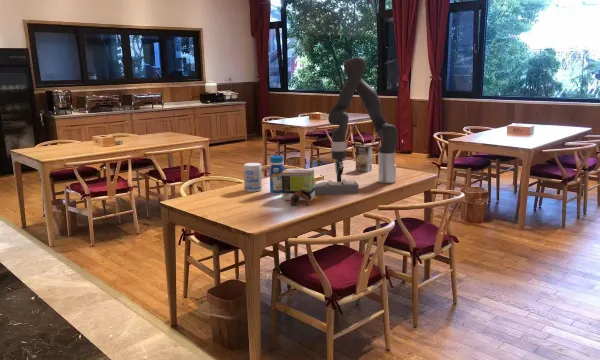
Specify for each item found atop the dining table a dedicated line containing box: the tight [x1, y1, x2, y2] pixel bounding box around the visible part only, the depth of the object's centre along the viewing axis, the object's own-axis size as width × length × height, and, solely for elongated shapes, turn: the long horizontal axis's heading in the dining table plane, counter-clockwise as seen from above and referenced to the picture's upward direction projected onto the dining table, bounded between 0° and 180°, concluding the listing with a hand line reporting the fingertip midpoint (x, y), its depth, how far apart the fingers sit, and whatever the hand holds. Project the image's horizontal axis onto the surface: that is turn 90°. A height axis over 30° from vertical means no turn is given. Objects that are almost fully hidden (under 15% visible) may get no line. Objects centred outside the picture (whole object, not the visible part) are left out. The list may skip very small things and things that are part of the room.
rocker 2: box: [327, 179, 340, 185], centre depth 268 cm, size 6×4×2 cm
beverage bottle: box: [268, 154, 286, 195], centre depth 268 cm, size 8×8×20 cm
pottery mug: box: [290, 190, 312, 206], centre depth 246 cm, size 12×10×8 cm
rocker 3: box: [341, 178, 355, 185], centre depth 269 cm, size 6×4×2 cm
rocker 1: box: [314, 179, 326, 186], centre depth 268 cm, size 6×4×2 cm
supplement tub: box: [243, 162, 263, 193], centre depth 275 cm, size 10×10×15 cm
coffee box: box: [355, 144, 373, 173], centre depth 319 cm, size 9×6×16 cm
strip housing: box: [315, 180, 360, 196], centre depth 269 cm, size 25×9×4 cm, turn 96°
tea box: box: [281, 168, 316, 202], centre depth 257 cm, size 15×10×15 cm, turn 74°
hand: (339, 181), depth 268 cm, fingers closed
